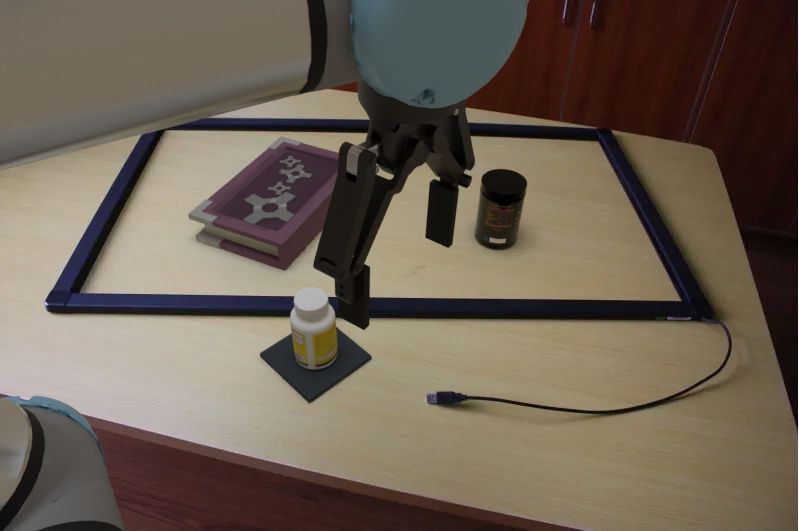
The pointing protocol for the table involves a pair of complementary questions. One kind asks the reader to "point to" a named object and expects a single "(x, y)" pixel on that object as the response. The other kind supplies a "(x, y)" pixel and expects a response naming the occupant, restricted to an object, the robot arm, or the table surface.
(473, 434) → the table surface
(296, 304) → the supplement bottle
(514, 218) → the supplement container
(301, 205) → the book
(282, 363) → the mat
